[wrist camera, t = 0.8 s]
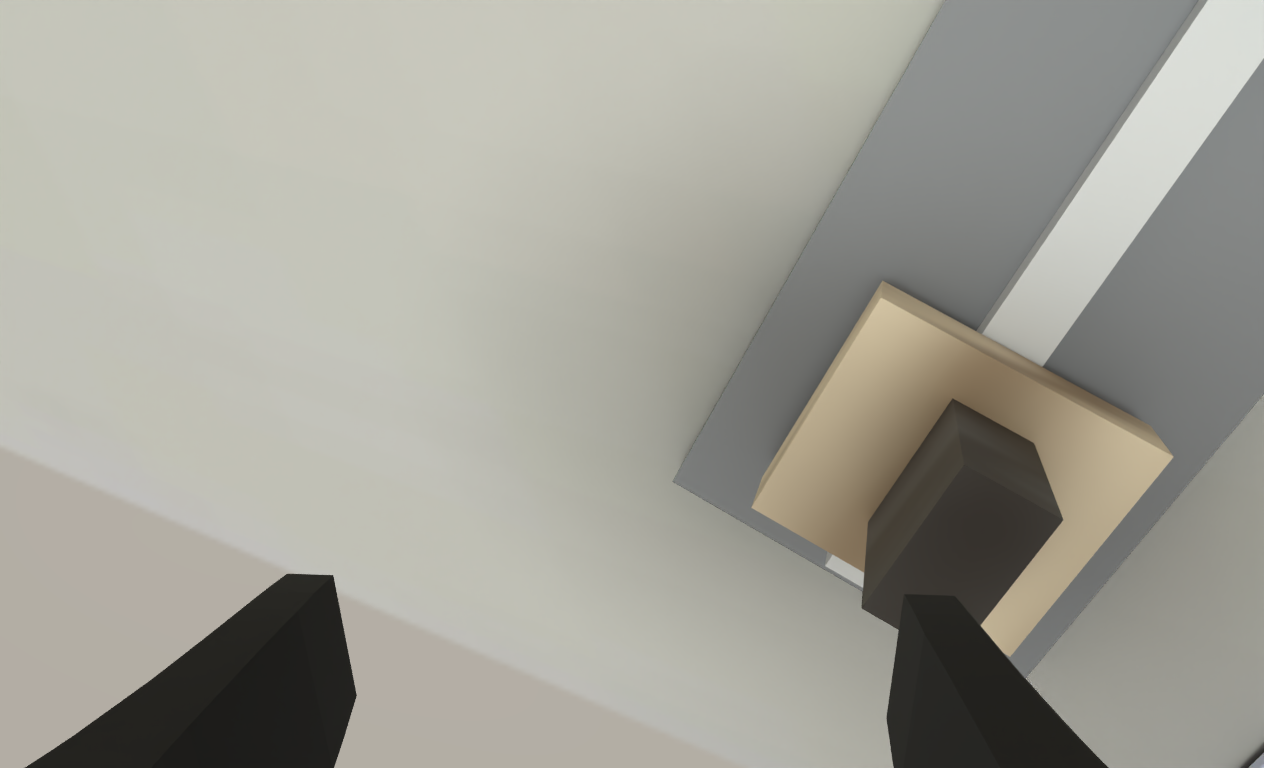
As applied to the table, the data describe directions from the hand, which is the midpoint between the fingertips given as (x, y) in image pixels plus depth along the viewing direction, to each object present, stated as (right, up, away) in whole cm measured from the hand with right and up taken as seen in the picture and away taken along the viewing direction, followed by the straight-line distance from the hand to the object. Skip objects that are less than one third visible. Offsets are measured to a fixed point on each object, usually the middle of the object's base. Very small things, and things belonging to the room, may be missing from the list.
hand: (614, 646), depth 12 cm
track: (+10, +6, +12) cm, 17 cm away
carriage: (+8, +2, +11) cm, 14 cm away
